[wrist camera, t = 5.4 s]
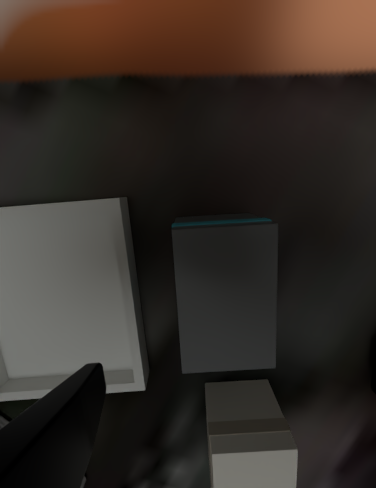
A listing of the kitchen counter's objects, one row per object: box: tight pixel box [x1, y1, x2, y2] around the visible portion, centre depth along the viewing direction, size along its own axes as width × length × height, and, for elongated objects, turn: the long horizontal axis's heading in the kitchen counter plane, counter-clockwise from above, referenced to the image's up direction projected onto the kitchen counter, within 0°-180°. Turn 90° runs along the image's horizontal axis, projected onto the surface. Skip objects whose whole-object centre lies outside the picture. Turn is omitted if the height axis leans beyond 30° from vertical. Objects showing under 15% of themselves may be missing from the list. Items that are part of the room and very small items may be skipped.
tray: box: [0, 197, 149, 401], centre depth 15 cm, size 10×12×2 cm
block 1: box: [172, 213, 278, 373], centre depth 14 cm, size 5×7×5 cm, turn 3°
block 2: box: [205, 379, 298, 488], centre depth 16 cm, size 5×7×5 cm, turn 3°
